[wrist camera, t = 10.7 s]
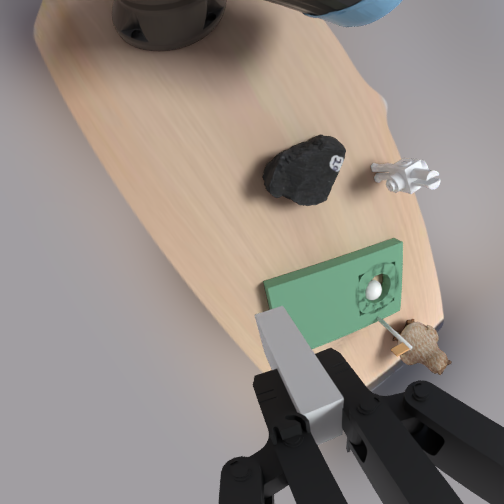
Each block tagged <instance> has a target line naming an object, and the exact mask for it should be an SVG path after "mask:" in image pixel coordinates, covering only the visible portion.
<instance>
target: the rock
mask: <svg viewBox="0 0 504 504" xmlns="http://www.w3.org/2000/svg"><path fill="white" fill-rule="evenodd" d="M345 152H346V150H345V148H344V146H343V145H342V144H341V143H340V142H339V141H338V140H337V139H336V138H334V137H331V136H323V135H318V136H316V137H314V138H312V139H311V140H310V141H308V142H302V143H300V144H298V145H294V146H292V147H291V148H289V149H287V150H284V151H283V152H281V153H279V154H278V155H277V156H276V157H275V158H274V159H273V161H271V162H269V163H267V165H266V167H265V170H264V174H263V179H264V185H265V186H266V190H267V191H268V192H269V193H270V194H271V195H272V196H274V197H276V198H279V197H281V196H283V197H286V198H288V199H291V200H293V201H294V202H296V203H297V204H299V205H303V206H304V205H306V206H310V205H317V204H319V203H322V202H324V201H326V200H327V197H328V195H329V193H330V191H331V188H332V186H333V184H334V182H335V180H336V177H337V175H338V173H339V171H340V168H341V166H342V163H343V161H344V158H345Z"/></svg>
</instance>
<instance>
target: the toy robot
mask: <svg viewBox="0 0 504 504" xmlns="http://www.w3.org/2000/svg"><path fill="white" fill-rule="evenodd" d="M371 169H372V172H389V173H376V175H375V176H374V179H375V182H378V183H379V182H381V181H382V180H387V182H386V186H387V188H388V190H390V191H393V192H395V193H397V192H398V191H401V192H406V193H409V194H412V193H413V192H415V191H416V190H418V189H419V188H421V187H426V188H429V189H433V190H434V189H436V188H437V187H438V186H439V184H440V179H435V178H432V177H434V176H437V175H439V173H438V172H437V171H433V170H428V167H427V164H426V162H425V161H424V160H418V159H408V158H403V159H401V160H399V161H398V162H396V163H394V164H391V163H385V164H376V163H373V164H372V165H371Z"/></svg>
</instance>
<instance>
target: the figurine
mask: <svg viewBox="0 0 504 504" xmlns="http://www.w3.org/2000/svg"><path fill="white" fill-rule="evenodd" d="M397 333H398V332H397ZM398 334H399V335H400V336H401V337H403V338H404V339H405V340H406V341H407V342H408V343H409V344H410V345H411V346H412V349H411V350H408V351H406V352H405V353H403V354H401V355H400V358H401V360H402V361H403V362H404V363H406V364H407V365H413V364H416V363H421V364H423V365H425V366H426V367H428V368H429V369H430V371H431V372H433V373H435V374H436V373H438V374H439V375H441V374H442V373H443V370H444V369H445V368H446V366H447V365H449V364H451V361H450V360H448V358H447V356H446V354H445V353H444V352H443V351H441V350H440V349H439V347H438V345H437V341H438V334H437V332H436V330H435V329H434V328H433V327H432V326H429V325H427V327H426V326H425V325H424V324H422V323H420V322H414V319H412V320H411V321H410V320H407V325H406V326H405V328H404V330H403V331H402V332H399V333H398ZM394 340H397V341H398V345H399V344H401V343H402V342H401V341H399V340H398V339H397V338H396V337H394V339H393V341H394Z"/></svg>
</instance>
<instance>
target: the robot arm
mask: <svg viewBox="0 0 504 504" xmlns="http://www.w3.org/2000/svg"><path fill="white" fill-rule="evenodd" d="M265 1H269V2H272V3H275V4H279V5H282V6H285V7H288V8H291V9H294V10H297V11H299V12H302V13H303V14H304V15H306V16H309V17H313V18H320V19H323V20H325V21H328V22H331V23H333V24H336V25H339V26H343V27H352V26H354V27H355V26H363V25H367V24H370V23H372V22H374V21H376V20H378V19H380V18H382V17H383V16H385V15H386V14H388V13H389V12H391V11H392V10H393V9H394V8H395V7H396V6H398V5H399V4H400V2H401V1H402V0H265ZM225 6H226V0H114V2H113V7H112V20H113V24H114V26H115V28H116V30H117V32H118V33H119V35H120V36H121V37H122V39H124V40H125V41H126V42H127V43H129V44H131V45H132V46H135V47H137V48H140V49H144V50H151V51H166V50H173V49H178V48H182V47H185V46H188V45H190V44H193V43H195V42H197V41H199V40H200V39H202V38H204V37H205V36H206V35H208V34H209V33H210V32H211V31H212V30H213V29H214V28H215V27H216V26H217V25H218V23H219V22H220V20H221V18H222V15H223V12H224V9H225ZM255 318H256V322H257V326H258V329H259V333H260V337H261V341H262V345H263V348H264V352H265V355H266V357H267V360H268V362H269V364H270V366H271V369H272V370H271V371H268V372H265V373H262V374H259V375H256V376H255V377H254V382H253V387H254V390H255V393H256V396H257V399H258V402H259V405H260V408H261V410H262V414H263V416H264V419H265V422H266V425H267V428H268V431H269V439H268V441H267V443H266V445H265V446H264V447H263V448H262V449H261V450H260V451H258V452H256V453H255V454H253V455H252V456H250V457H242V456H241V457H236V458H233V459H231V460H229V461H228V462H227V463H226V464H225V465H224V466H223V468H222V471H221V479H220V492H219V504H274V494H275V493H277V492H278V491H280V490H282V489H283V488H285V487H286V486H288V485H289V486H290V489H291V491H292V494H293V496H294V498H295V501H296V503H297V504H348V503H347V502H346V500H345V498H344V496H343V494H342V492H341V490H340V488H339V486H338V484H337V483H336V481H335V479H334V477H333V475H332V473H331V471H330V470H329V467H328V465H327V464H326V462H325V460H324V457H323V455H322V453H321V451H320V450H319V448H318V446H317V445H319V444H321V443H324V442H326V441H329V440H331V439H333V438H336V437H338V436H340V435H342V431H343V430H344V432H345V434H346V435H347V447H346V449H347V452H350V449H351V450H352V452H353V454H354V455H355V457H356V459H357V460H358V462H359V464H360V466H361V467H362V469H363V471H364V472H365V474H366V476H367V477H368V479H369V481H370V483H371V484H372V486H373V488H374V489H375V491H376V493H377V494H378V496H379V497H380V499H381V501H382V503H383V504H463V503H462V501H461V500H460V498H459V497H458V496H457V494H456V493H455V492H454V490H453V489H452V488H451V486H450V485H449V484H448V482H447V481H446V480H445V478H444V477H443V476H442V475H441V473H440V472H439V471H438V470H437V468H436V467H438V468H439V469H440V470H442V471H443V472H444V473H446V474H447V475H449V476H450V477H452V478H453V479H454V480H456V481H457V482H459V483H460V484H462V485H463V486H464V487H466V488H467V489H469V490H470V491H472V492H473V493H475V494H476V495H478V496H479V497H481V498H482V499H484V500H486V501H487V502H489V503H490V504H504V427H502V426H501V425H499V424H497V423H495V422H494V421H492V420H491V419H489V418H487V417H485V416H484V415H482V414H481V413H479V412H477V411H475V410H474V409H472V408H471V407H469V406H467V405H466V404H464V403H463V402H461V401H459V400H458V399H456V398H454V397H453V396H451V395H450V394H448V393H446V392H445V391H443V390H441V389H440V388H438V387H437V386H435V385H433V384H432V383H430V382H427V381H416V382H413V383H411V384H410V385H408V387H407V389H406V390H405V392H403V393H399V394H395V395H391V396H379V395H377V394H374V393H372V392H371V391H369V390H368V388H367V387H366V386H365V385H364V383H363V382H362V381H361V379H360V378H359V377H358V375H357V374H356V373H355V372H354V370H353V369H352V368H351V366H350V365H349V364H348V362H346V360H345V359H344V357H343V356H342V355H341V353H339V352H338V351H336V350H334V349H332V348H329V349H326V350H324V351H321V352H319V353H316V354H314V352H313V351H312V349H311V348H310V346H309V345H308V343H307V342H306V340H305V339H304V337H303V336H302V334H301V333H300V331H299V329H298V328H297V326H296V325H295V323H294V322H293V320H292V319H291V317H290V316H289V314H288V313H287V311H286V310H285V308H284V307H283V306H280V307H277V308H274V309H271V310H268V311H265V312H262V313H258V314H255ZM435 466H436V467H435Z"/></svg>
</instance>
